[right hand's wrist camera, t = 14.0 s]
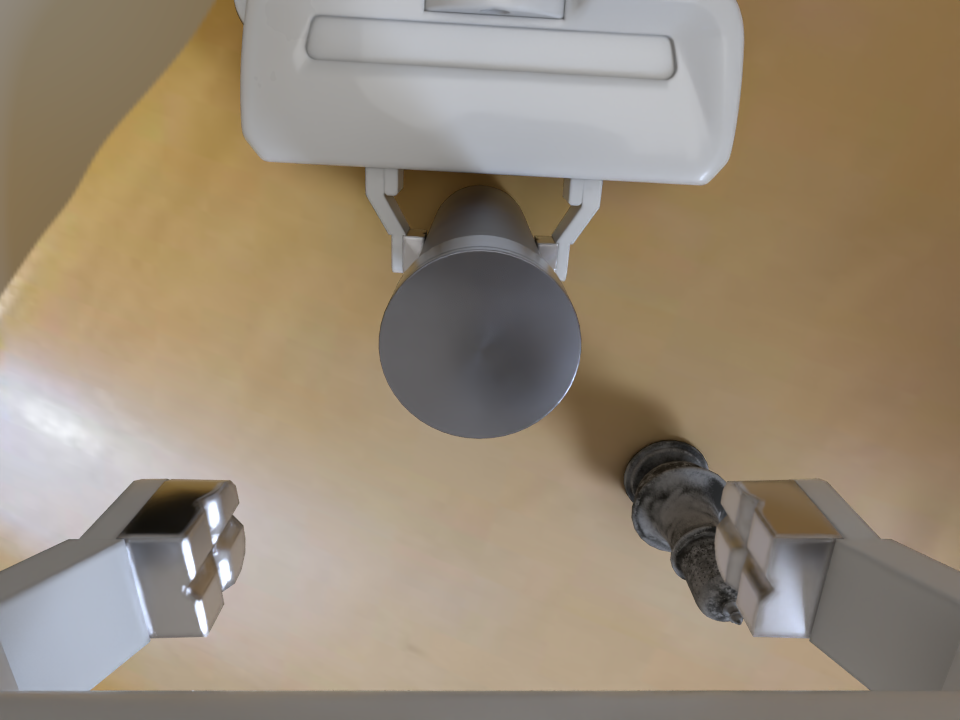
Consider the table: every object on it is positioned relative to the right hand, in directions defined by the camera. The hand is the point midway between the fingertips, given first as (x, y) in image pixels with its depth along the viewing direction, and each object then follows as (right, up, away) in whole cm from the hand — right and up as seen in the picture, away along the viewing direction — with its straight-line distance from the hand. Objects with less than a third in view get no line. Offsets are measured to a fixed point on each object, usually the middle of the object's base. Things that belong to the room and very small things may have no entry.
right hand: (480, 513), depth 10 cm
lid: (0, +3, +7) cm, 8 cm away
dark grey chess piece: (+12, -5, +29) cm, 32 cm away
